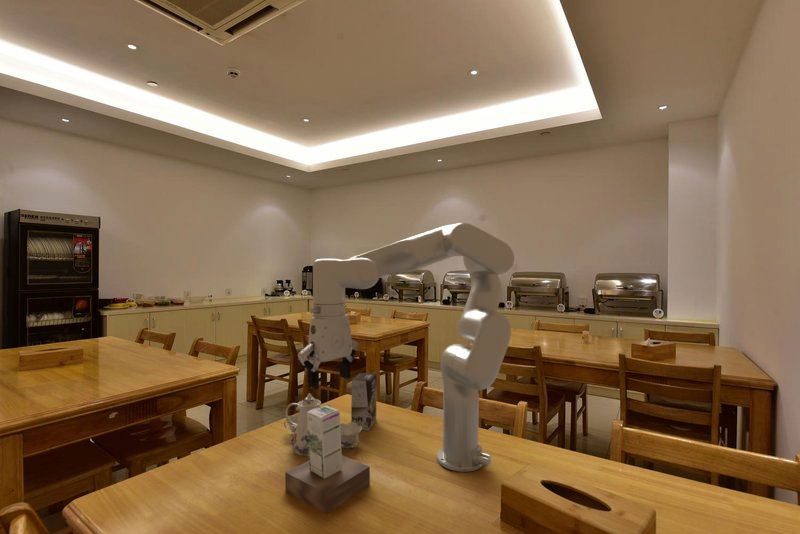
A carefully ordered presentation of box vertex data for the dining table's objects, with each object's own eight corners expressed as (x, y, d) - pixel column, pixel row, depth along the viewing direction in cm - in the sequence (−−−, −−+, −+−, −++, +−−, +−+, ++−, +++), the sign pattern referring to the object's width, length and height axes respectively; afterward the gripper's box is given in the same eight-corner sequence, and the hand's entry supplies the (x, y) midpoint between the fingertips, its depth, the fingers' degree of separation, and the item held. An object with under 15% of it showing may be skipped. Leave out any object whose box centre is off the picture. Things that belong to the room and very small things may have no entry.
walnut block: (369, 487, 96) (369, 466, 96) (326, 516, 85) (326, 493, 85) (329, 469, 105) (329, 450, 105) (285, 493, 93) (285, 472, 93)
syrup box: (343, 469, 94) (341, 408, 94) (323, 480, 90) (321, 417, 90) (328, 461, 98) (325, 403, 98) (308, 471, 94) (305, 411, 93)
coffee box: (369, 431, 127) (370, 380, 127) (350, 429, 128) (350, 379, 128) (377, 420, 136) (377, 373, 136) (359, 418, 137) (359, 371, 137)
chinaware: (370, 446, 120) (372, 390, 121) (344, 467, 104) (347, 402, 106) (291, 432, 130) (294, 380, 131) (257, 449, 114) (261, 390, 115)
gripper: (309, 315, 85) (310, 395, 86) (366, 308, 99) (366, 377, 99) (288, 313, 90) (289, 388, 90) (345, 306, 103) (346, 371, 104)
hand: (329, 382), depth 95 cm, fingers open, 9 cm apart
